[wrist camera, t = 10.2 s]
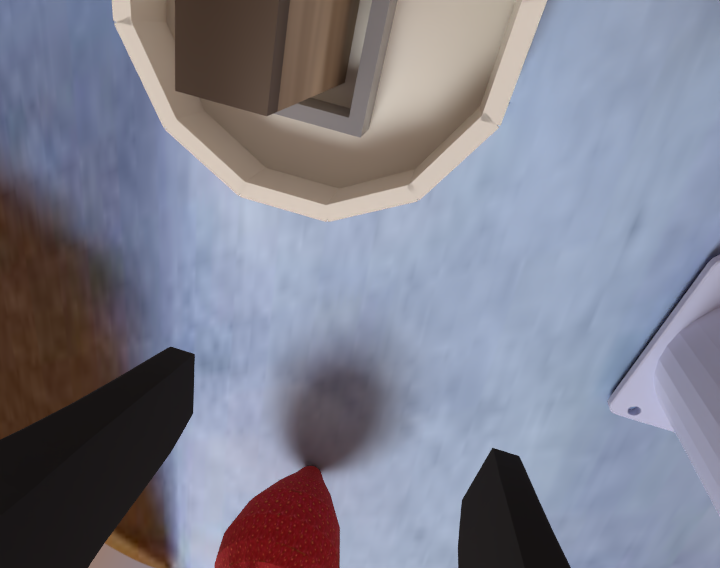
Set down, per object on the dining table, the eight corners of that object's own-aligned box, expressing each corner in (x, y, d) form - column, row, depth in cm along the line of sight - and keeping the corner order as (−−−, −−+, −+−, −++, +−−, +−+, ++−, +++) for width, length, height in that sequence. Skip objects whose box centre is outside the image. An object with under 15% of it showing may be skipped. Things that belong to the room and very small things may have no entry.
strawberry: (248, 481, 28) (155, 675, 20) (284, 408, 24) (188, 612, 16) (332, 519, 28) (276, 728, 20) (381, 454, 25) (337, 679, 16)
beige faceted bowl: (610, -206, 11) (645, -262, 9) (452, 230, 17) (450, 258, 15) (155, -307, 12) (86, -382, 10) (162, 147, 18) (122, 162, 16)
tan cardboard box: (372, -64, 13) (293, -146, 7) (344, 82, 15) (266, 116, 9) (306, -81, 13) (174, -174, 7) (288, 67, 15) (175, 90, 9)
